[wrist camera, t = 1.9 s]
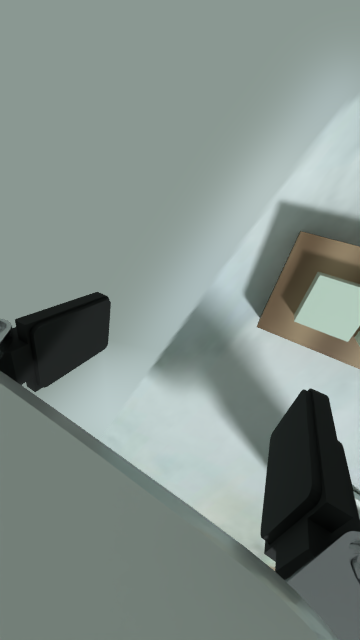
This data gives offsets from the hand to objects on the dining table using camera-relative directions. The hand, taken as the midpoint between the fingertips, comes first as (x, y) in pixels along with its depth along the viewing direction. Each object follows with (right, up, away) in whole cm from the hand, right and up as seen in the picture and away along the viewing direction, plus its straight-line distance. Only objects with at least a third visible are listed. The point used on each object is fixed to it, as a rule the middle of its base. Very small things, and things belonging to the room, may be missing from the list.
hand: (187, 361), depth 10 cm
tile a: (+15, +4, +12) cm, 20 cm away
